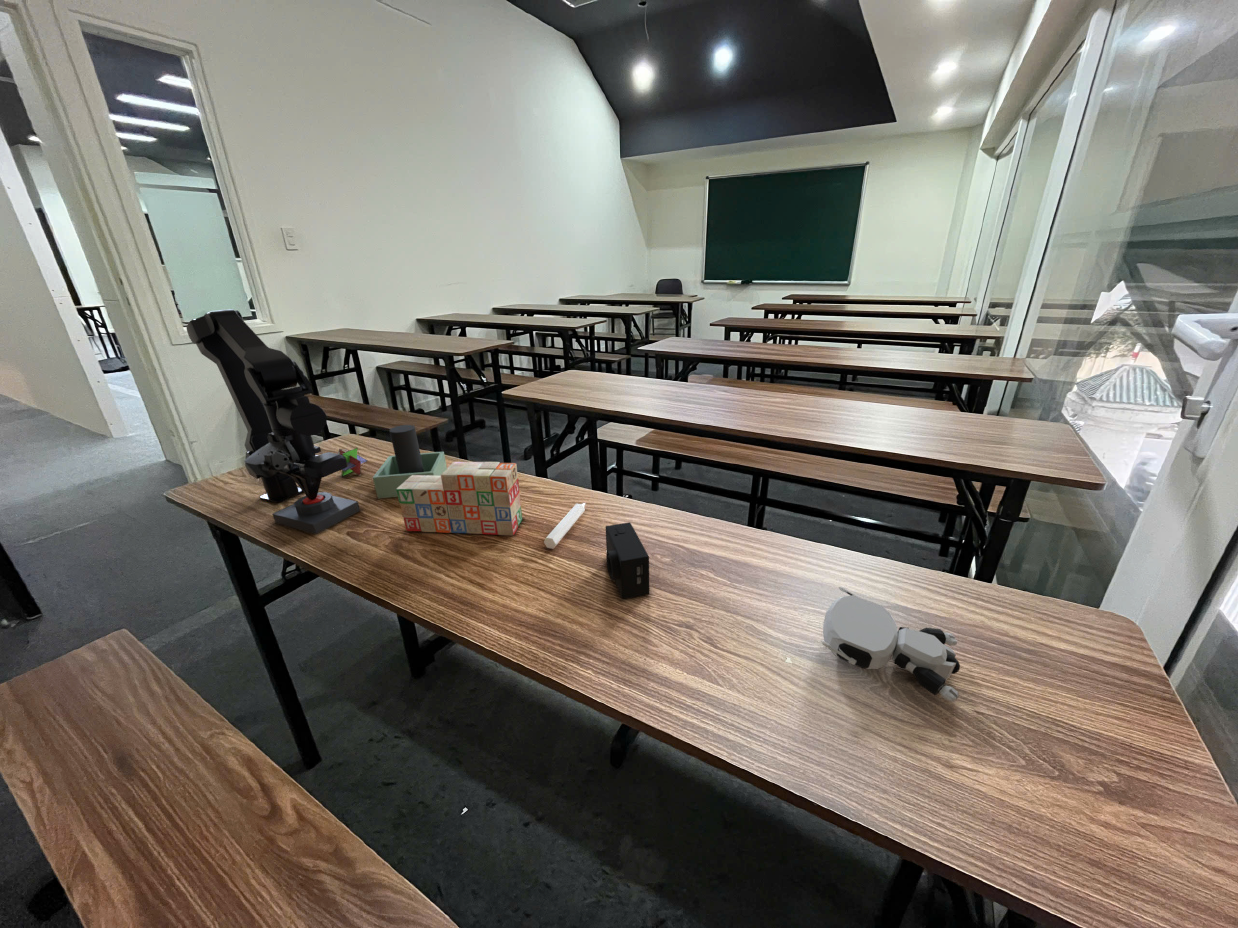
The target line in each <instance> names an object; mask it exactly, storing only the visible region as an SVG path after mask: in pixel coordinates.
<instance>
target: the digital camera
mask: <svg viewBox="0 0 1238 928" xmlns="http://www.w3.org/2000/svg"><path fill="white" fill-rule="evenodd" d="M604 529H605V542H606V543H605V547H606V549H605V550H606V553H605V554H606V555H605V557H606V559H605V561H606V567H607V573H608V576H609V578H610V579H609V580H611V581H612V582H615V584H616V587H617V590H618V592H619V594H620V597H621V599H622V600H625V599H630V598H637V597H641V596H646V595H650V556H649V554H648V552H647V550H646V548H645V547H644V545H643V543H642V541H641V539H640V537H639V535H638V533H637V532H636V530H635V528H634V527H633V525H632V522H623V523H617V524H611V525H606V526H605V528H604Z"/></svg>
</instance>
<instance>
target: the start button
mask: <svg viewBox="0 0 1238 928" xmlns="http://www.w3.org/2000/svg"><path fill="white" fill-rule="evenodd" d="M322 500H324V497H323V496H322V495H317V498H315V499H313V500H311V499H308V497H307V498H305V499H304V500H303V504H305V505H308V504H314V503H318V502H320V501H322Z"/></svg>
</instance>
